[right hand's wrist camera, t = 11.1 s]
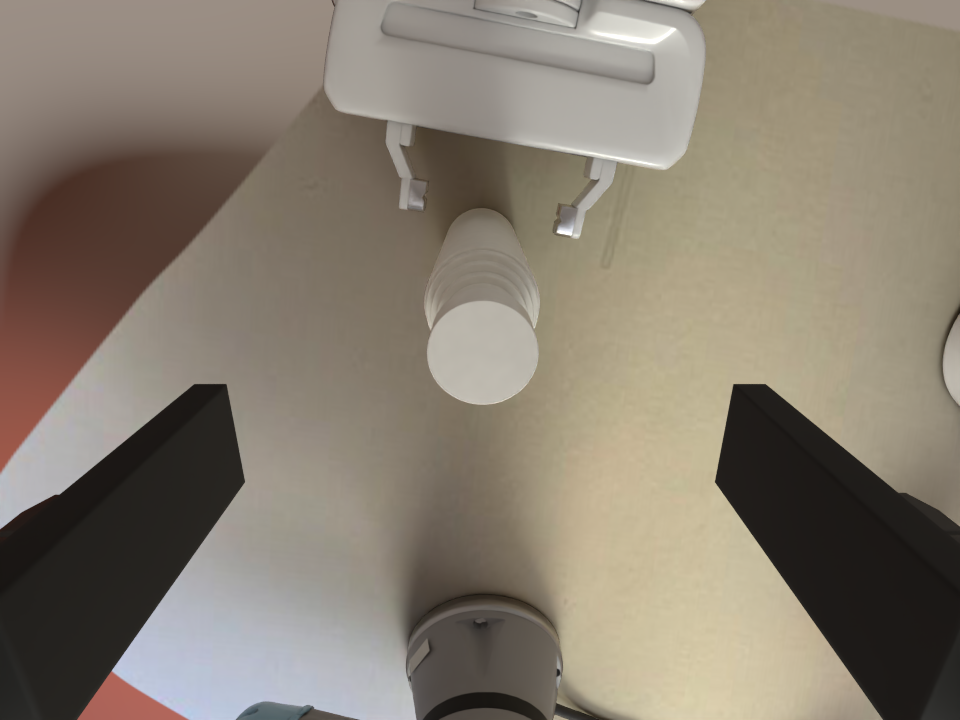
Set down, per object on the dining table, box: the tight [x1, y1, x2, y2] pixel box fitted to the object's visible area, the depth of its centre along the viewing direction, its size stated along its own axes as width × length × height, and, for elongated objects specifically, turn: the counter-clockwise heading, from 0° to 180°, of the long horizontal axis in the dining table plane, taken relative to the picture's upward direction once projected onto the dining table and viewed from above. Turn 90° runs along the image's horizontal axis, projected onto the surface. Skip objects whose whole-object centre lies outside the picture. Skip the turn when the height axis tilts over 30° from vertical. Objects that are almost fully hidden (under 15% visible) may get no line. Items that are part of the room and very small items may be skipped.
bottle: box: [424, 208, 540, 330], centre depth 29 cm, size 5×5×22 cm
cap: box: [427, 288, 539, 404], centre depth 19 cm, size 4×4×2 cm
